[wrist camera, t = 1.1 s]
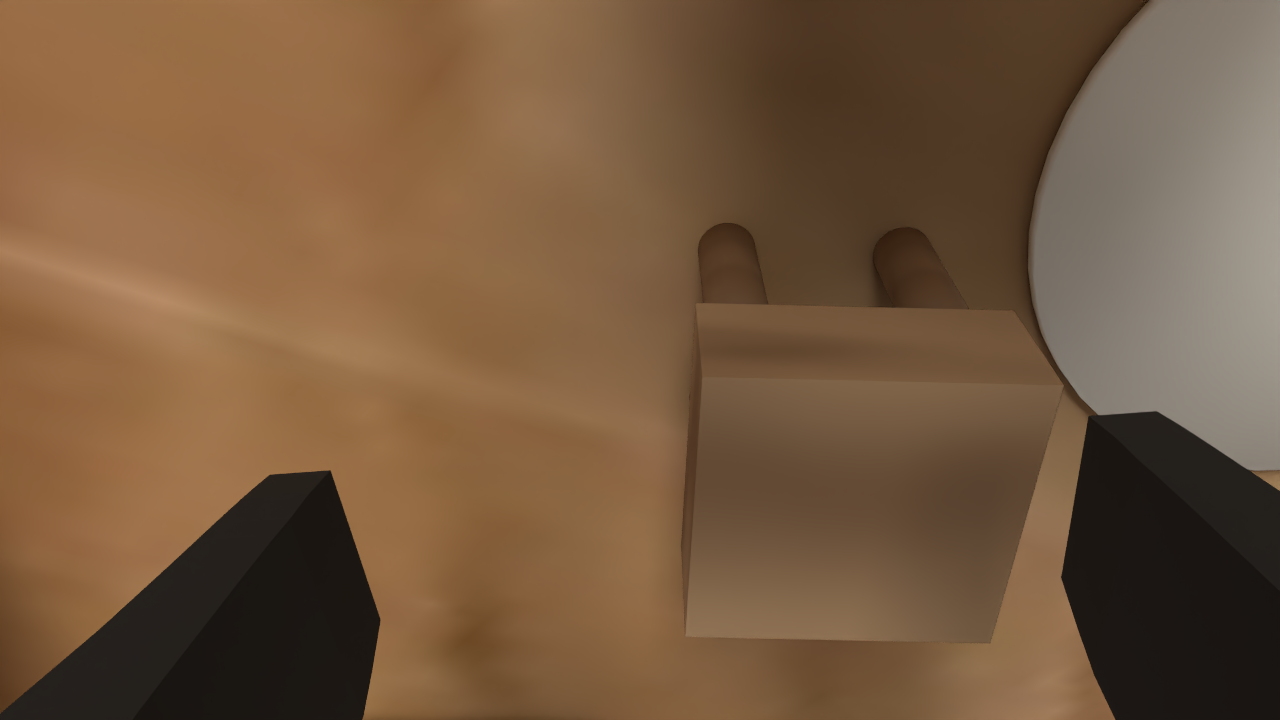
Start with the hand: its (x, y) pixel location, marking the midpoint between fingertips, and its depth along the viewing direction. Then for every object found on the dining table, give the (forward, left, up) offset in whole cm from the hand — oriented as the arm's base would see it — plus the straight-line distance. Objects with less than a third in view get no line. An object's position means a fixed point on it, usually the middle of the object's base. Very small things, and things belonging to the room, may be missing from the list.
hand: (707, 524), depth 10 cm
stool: (-3, -3, -10) cm, 11 cm away
